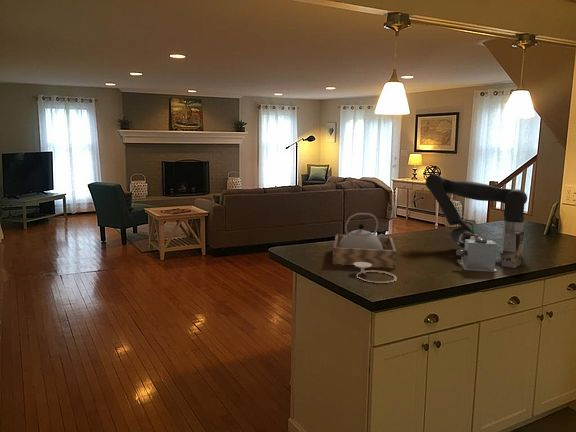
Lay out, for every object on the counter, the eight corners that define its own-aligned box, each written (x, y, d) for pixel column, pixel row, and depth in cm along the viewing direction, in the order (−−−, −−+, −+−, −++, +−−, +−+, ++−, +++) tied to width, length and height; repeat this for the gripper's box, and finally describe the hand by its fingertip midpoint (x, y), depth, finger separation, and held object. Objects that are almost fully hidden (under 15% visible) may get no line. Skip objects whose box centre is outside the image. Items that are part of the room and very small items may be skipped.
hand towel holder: (378, 277, 185) (341, 265, 201) (378, 287, 186) (341, 275, 202) (405, 270, 196) (368, 259, 212) (405, 280, 196) (368, 268, 212)
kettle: (371, 251, 245) (374, 208, 241) (396, 262, 224) (399, 215, 220) (328, 254, 236) (330, 210, 232) (350, 266, 215) (352, 217, 211)
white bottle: (478, 259, 225) (480, 233, 223) (481, 262, 219) (484, 236, 217) (467, 258, 226) (469, 233, 224) (470, 262, 220) (472, 236, 217)
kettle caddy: (390, 252, 242) (391, 237, 241) (395, 268, 213) (396, 251, 211) (335, 249, 246) (335, 234, 245) (332, 264, 217) (333, 247, 215)
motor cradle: (486, 262, 227) (489, 234, 224) (497, 271, 210) (499, 241, 208) (450, 260, 229) (452, 232, 227) (457, 269, 212) (459, 239, 210)
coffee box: (515, 268, 216) (519, 234, 214) (501, 265, 220) (504, 232, 218) (520, 264, 223) (524, 231, 221) (506, 262, 227) (509, 229, 225)
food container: (480, 238, 281) (481, 222, 279) (471, 239, 278) (473, 222, 277) (465, 234, 292) (466, 218, 290) (457, 235, 290) (458, 219, 288)
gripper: (454, 232, 236) (461, 239, 220) (483, 233, 234) (493, 241, 218) (452, 246, 237) (460, 255, 221) (482, 248, 236) (492, 256, 219)
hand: (476, 248), depth 219 cm, fingers closed on white bottle, 5 cm apart
